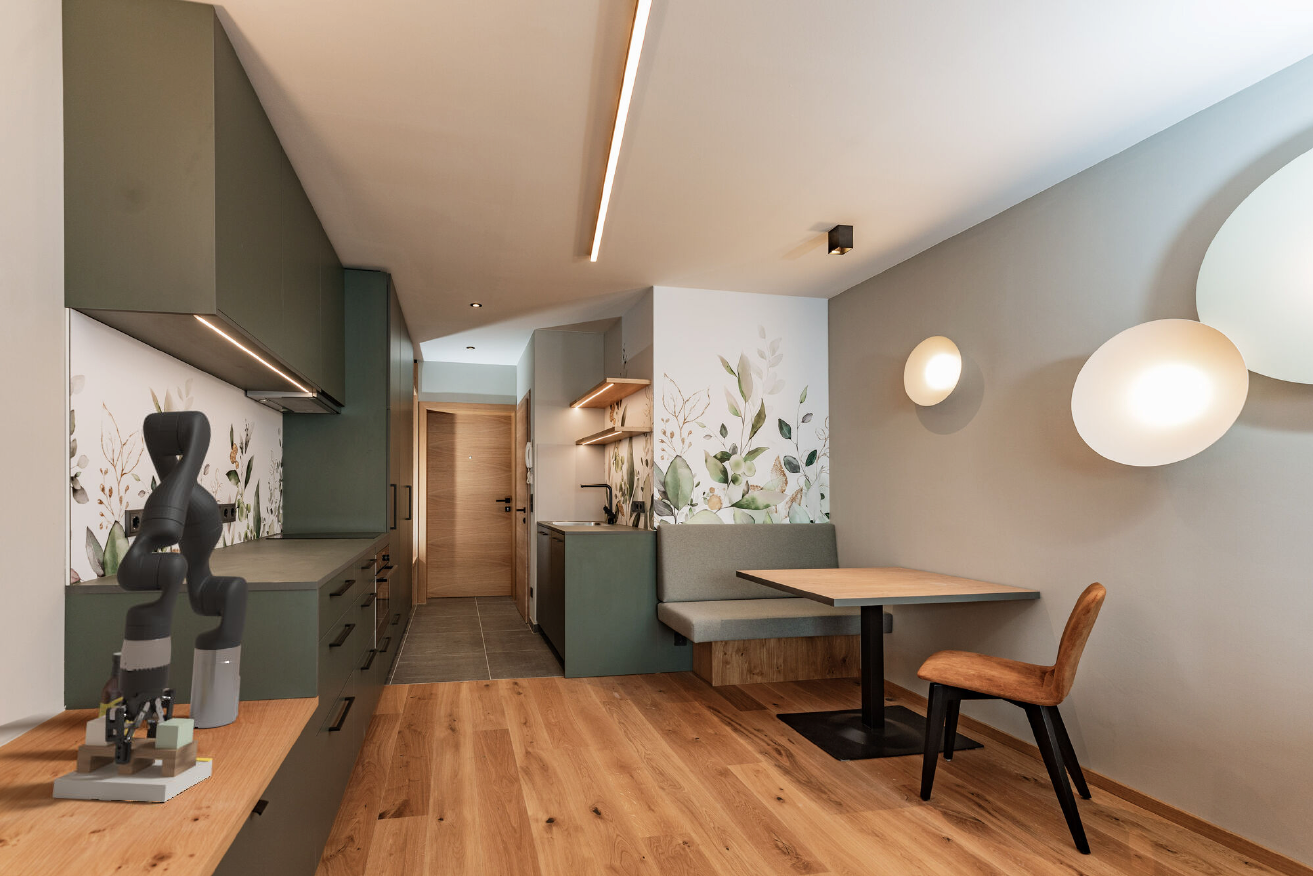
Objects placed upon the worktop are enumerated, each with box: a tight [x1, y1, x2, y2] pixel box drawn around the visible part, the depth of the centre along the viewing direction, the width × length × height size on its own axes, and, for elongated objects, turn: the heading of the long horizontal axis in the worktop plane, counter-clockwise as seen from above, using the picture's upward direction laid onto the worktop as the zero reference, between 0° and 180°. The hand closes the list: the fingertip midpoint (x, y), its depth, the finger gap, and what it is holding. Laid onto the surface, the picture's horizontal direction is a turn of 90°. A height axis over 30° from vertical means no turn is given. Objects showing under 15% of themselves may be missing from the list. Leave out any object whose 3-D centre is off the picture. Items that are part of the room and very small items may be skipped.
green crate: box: [155, 717, 194, 749], centre depth 130 cm, size 4×4×4 cm
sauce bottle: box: [98, 651, 136, 737], centre depth 145 cm, size 6×6×20 cm
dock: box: [52, 757, 213, 802], centre depth 129 cm, size 12×20×3 cm, turn 87°
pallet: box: [75, 736, 199, 777], centre depth 130 cm, size 6×18×4 cm, turn 87°
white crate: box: [84, 715, 125, 746], centre depth 130 cm, size 4×4×4 cm
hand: (137, 756), depth 129 cm, fingers open, 6 cm apart
